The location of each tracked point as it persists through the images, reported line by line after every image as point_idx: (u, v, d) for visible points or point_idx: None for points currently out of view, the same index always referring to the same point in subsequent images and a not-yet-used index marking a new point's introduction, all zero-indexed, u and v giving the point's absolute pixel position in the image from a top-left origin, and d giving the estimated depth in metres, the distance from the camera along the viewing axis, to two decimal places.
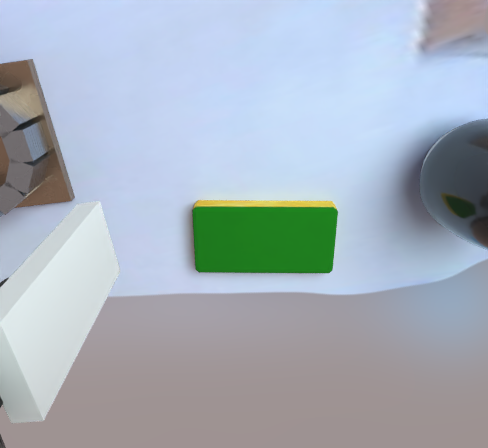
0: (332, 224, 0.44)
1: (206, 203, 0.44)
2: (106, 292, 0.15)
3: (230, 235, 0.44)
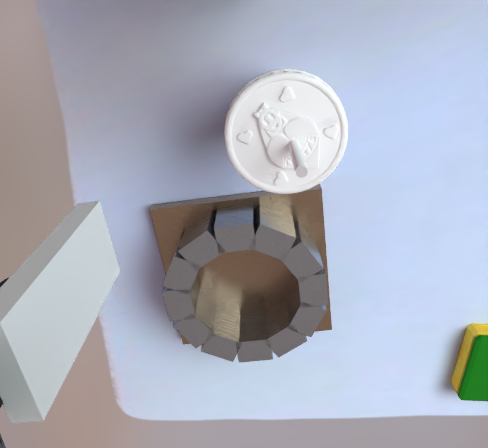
0: None
1: (486, 329, 0.39)
2: (106, 292, 0.15)
3: None
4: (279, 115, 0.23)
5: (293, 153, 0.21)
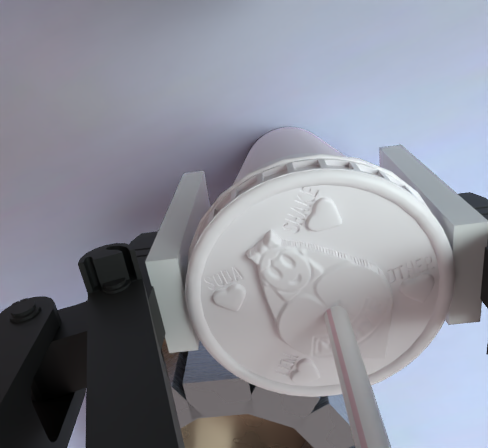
0: None
1: None
2: None
3: None
4: (305, 258, 0.10)
5: (345, 374, 0.09)
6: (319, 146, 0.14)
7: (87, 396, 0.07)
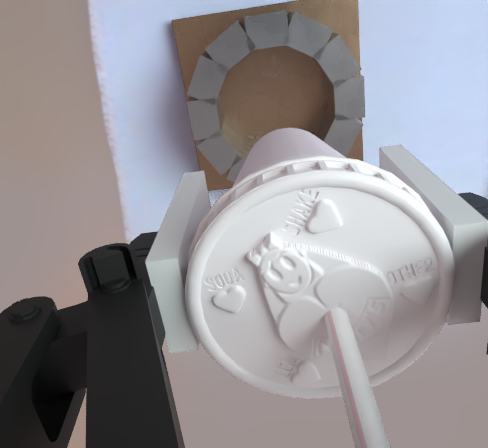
0: None
1: None
2: None
3: None
4: (305, 260, 0.10)
5: (345, 377, 0.09)
6: (319, 147, 0.14)
7: (87, 396, 0.07)
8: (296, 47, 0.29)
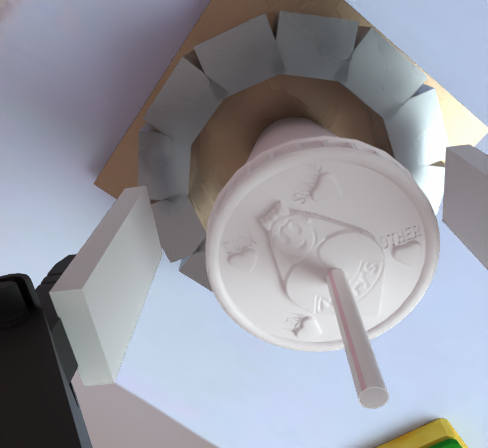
0: None
1: (457, 437, 0.29)
2: (153, 272, 0.15)
3: None
4: (310, 226, 0.12)
5: (343, 319, 0.10)
6: (322, 132, 0.15)
7: None
8: (391, 133, 0.17)
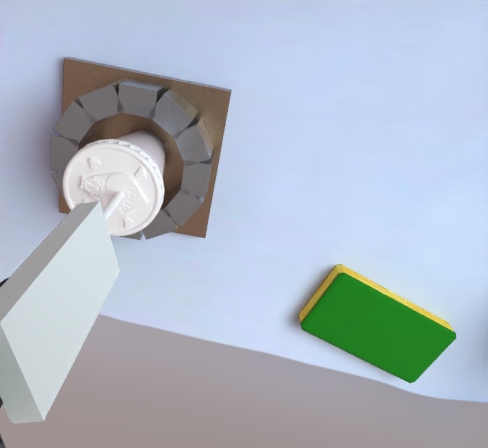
0: (444, 346, 0.44)
1: (350, 272, 0.43)
2: (106, 292, 0.15)
3: (355, 312, 0.43)
4: (96, 179, 0.28)
5: (106, 206, 0.27)
6: None
7: None
8: (159, 123, 0.33)
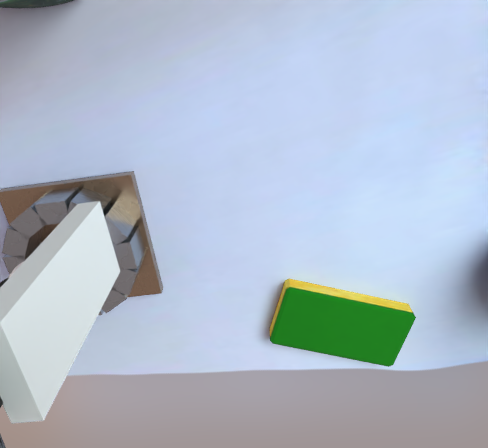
0: (407, 327, 0.47)
1: (298, 284, 0.47)
2: (106, 292, 0.15)
3: (313, 318, 0.47)
4: None
5: None
6: None
7: None
8: None
